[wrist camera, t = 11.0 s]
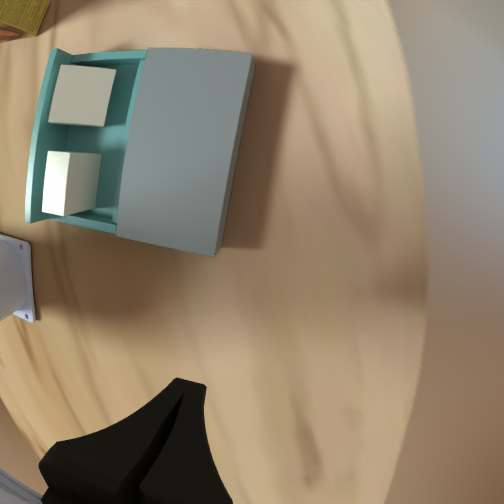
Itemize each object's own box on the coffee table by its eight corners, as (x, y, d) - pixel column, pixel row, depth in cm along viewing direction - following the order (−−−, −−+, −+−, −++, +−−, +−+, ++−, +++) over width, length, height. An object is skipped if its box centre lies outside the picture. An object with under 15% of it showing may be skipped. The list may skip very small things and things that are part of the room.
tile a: (95, 208, 21) (75, 204, 21) (102, 153, 20) (81, 151, 20) (63, 216, 17) (42, 211, 17) (69, 152, 16) (48, 151, 16)
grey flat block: (131, 229, 22) (115, 236, 19) (161, 59, 19) (148, 47, 16) (221, 247, 22) (213, 257, 19) (255, 66, 18) (252, 53, 16)
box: (56, 213, 22) (24, 222, 18) (80, 62, 19) (51, 49, 15) (128, 228, 22) (100, 240, 18) (157, 59, 19) (134, 40, 15)
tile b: (103, 125, 18) (102, 127, 20) (116, 69, 17) (113, 75, 19) (48, 121, 16) (51, 123, 18) (60, 64, 15) (62, 71, 17)
